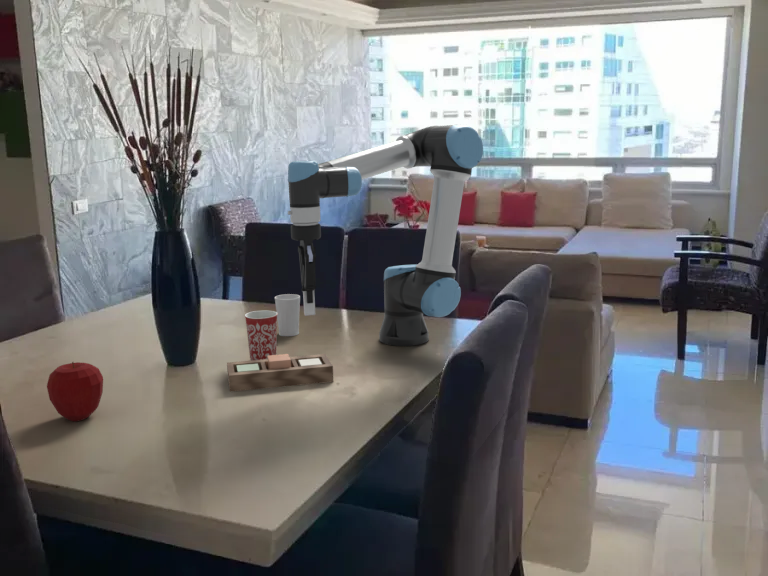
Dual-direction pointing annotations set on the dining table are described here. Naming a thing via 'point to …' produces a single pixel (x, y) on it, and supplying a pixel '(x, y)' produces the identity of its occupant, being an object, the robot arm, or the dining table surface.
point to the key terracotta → (279, 361)
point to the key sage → (247, 367)
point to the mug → (261, 333)
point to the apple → (75, 390)
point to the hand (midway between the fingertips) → (309, 314)
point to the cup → (288, 314)
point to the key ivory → (309, 362)
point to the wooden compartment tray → (279, 374)
